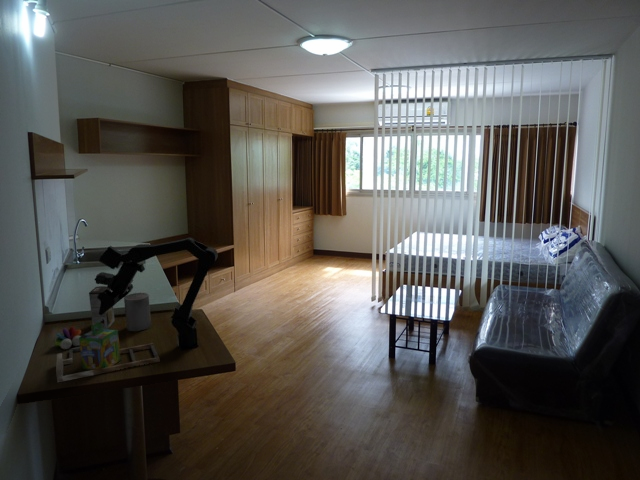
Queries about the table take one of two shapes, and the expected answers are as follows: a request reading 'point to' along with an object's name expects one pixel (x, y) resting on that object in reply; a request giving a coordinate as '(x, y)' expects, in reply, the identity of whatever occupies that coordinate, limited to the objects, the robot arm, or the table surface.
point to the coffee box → (95, 304)
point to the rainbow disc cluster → (68, 338)
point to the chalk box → (99, 348)
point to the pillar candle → (137, 311)
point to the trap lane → (107, 369)
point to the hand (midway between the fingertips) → (105, 310)
